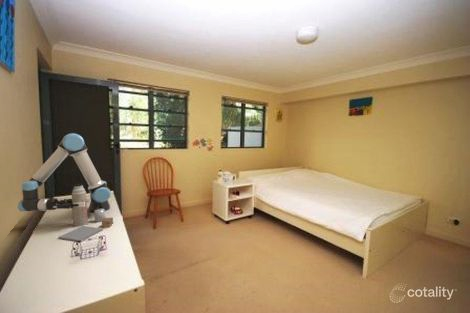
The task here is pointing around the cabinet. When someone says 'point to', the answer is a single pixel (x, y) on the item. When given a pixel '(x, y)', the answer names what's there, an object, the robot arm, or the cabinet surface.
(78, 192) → the thermos bottle
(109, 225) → the walnut block
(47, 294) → the cabinet surface
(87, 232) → the gray mat
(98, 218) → the grey rounded cylinder
